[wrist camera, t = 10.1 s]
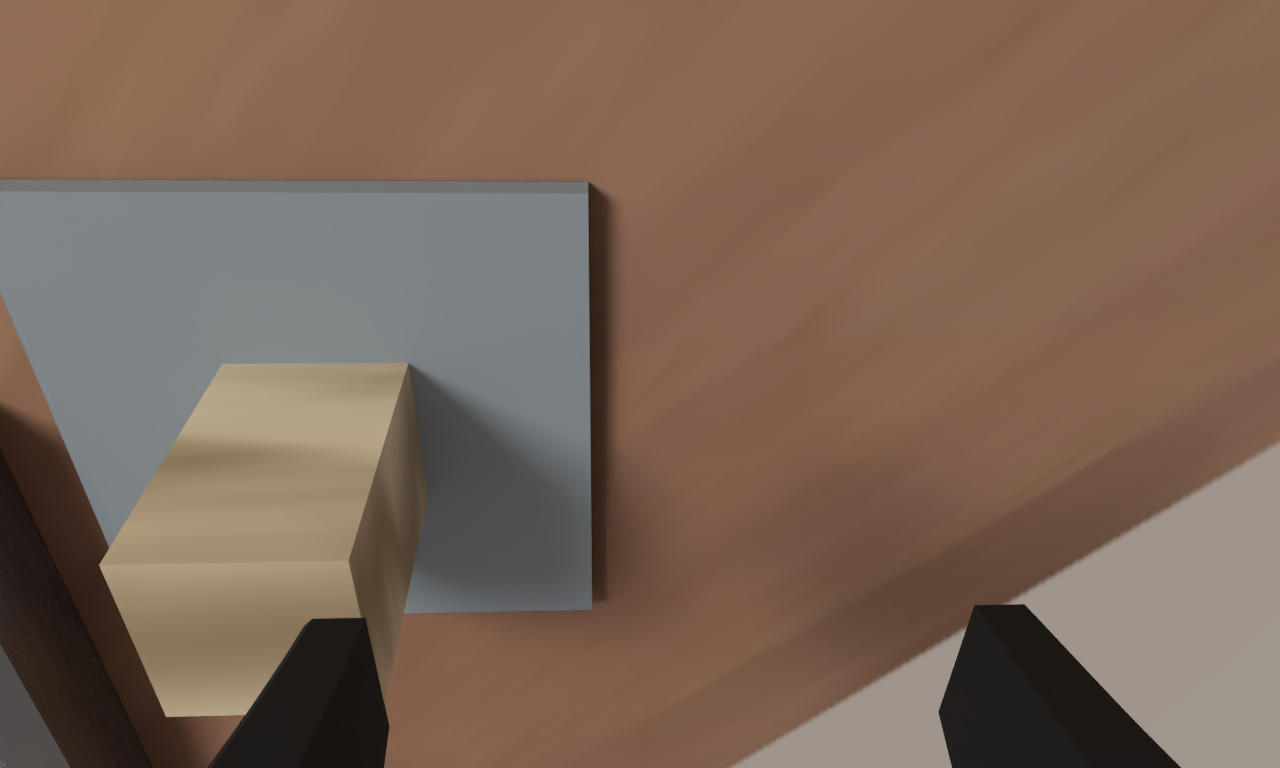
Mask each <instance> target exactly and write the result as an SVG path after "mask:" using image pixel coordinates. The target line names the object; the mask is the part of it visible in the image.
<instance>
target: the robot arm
mask: <svg viewBox="0 0 1280 768" xmlns="http://www.w3.org/2000/svg"><path fill="white" fill-rule="evenodd" d="M939 715H940V720H941V724H942V728H943V732H944V736H945V741H946V745H947V749H948V753H949V757H950V761H951V765H952V768H1181V767H1180V766H1179V765H1178V764H1177V763H1176V762H1175V761H1174V760H1173V759H1172V758H1171V757H1170V756H1168V754H1167V753H1166V752H1165V751H1164V750H1163V749H1162V748H1161V747H1160V746H1159V745H1158V744H1157V743H1156V742H1155V741H1154V740H1153V739H1152V738H1151V737H1150V736H1149V735H1148V734H1147V733H1146V732H1145V731H1144V730H1143V729H1142V728H1141V727H1140V726H1139V725H1138V724H1137V723H1136V722H1135V721H1134V720H1133V719H1132V718H1131V717H1130V716H1129V715H1128V714H1127V713H1126V712H1125V711H1124V709H1123V708H1121V706H1120V705H1119V704H1118V703H1117V702H1116V701H1115V700H1114V699H1113V698H1112V697H1111V696H1110V695H1109V694H1108V693H1107V692H1106V691H1105V690H1104V689H1103V687H1102V686H1101V685H1100V684H1099V683H1098V682H1097V681H1096V680H1095V679H1094V678H1093V677H1092V676H1091V675H1090V674H1089V673H1088V672H1087V670H1086V669H1085V668H1084V667H1083V666H1082V665H1081V664H1080V663H1079V662H1078V661H1077V660H1076V659H1075V658H1074V657H1073V655H1072V654H1071V653H1070V652H1069V651H1068V650H1067V649H1066V648H1065V647H1064V646H1063V645H1062V644H1061V643H1060V642H1059V641H1058V640H1057V638H1056V637H1054V635H1053V634H1052V633H1051V632H1050V631H1049V630H1048V629H1047V628H1046V627H1045V626H1044V625H1043V624H1042V622H1041V621H1040V620H1039V619H1038V618H1037V617H1036V616H1035V615H1034V614H1033V613H1032V612H1031V611H1030V610H1029V609H1028V608H1027V607H1026V606H1025V605H1024V604H1022V605H975V606H974V609H973V612H972V615H971V618H970V620H969V623H968V626H967V629H966V632H965V636H964V638H963V641H962V644H961V647H960V650H959V653H958V656H957V659H956V662H955V665H954V668H953V671H952V674H951V677H950V680H949V683H948V686H947V689H946V692H945V694H944V697H943V700H942V703H941V706H940V709H939ZM388 732H389V723H388V718H387V714H386V709H385V704H384V700H383V695H382V691H381V686H380V681H379V677H378V672H377V668H376V663H375V658H374V654H373V649H372V645H371V640H370V636H369V631H368V626H367V622H366V618H322V619H311V620H310V621H309V622H308V623H307V624H306V625H304V627H303V628H302V630H301V632H300V633H299V635H298V636H297V638H296V639H295V641H294V643H293V644H292V646H291V647H290V649H289V650H288V652H287V654H286V655H285V657H284V658H283V660H282V661H281V663H280V664H279V666H278V667H277V669H276V670H275V672H274V673H273V675H272V676H271V678H270V680H269V681H268V683H267V684H266V685H265V687H264V688H263V690H262V691H261V693H260V694H259V696H258V697H257V699H256V700H255V702H254V703H253V705H252V706H251V707H250V709H249V710H248V712H247V713H246V715H245V716H244V718H243V719H242V721H241V722H240V723H239V725H238V726H237V728H236V729H235V731H234V732H233V733H232V735H231V736H230V738H229V739H228V740H227V742H226V743H225V744H224V746H223V747H222V748H221V750H220V751H219V753H218V754H217V755H216V757H215V758H214V759H213V761H212V762H211V764H210V765H209V766H208V768H384V762H385V755H386V747H387V740H388Z"/></svg>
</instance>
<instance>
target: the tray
mask: <svg viewBox="0 0 1280 768" xmlns="http://www.w3.org/2000/svg"><path fill="white" fill-rule="evenodd" d="M0 768H152V767H151V765H150V763H149V761H148V759H147V757H146V755H145V753H144V751H143V749H142V747H141V744H140V742H139V740H138V738H137V736H136V734H135V732H134V730H133V728H132V726H131V724H130V722H129V719H128V717H127V715H126V713H125V711H124V709H123V707H122V705H121V703H120V701H119V699H118V697H117V695H116V692H115V690H114V688H113V686H112V684H111V682H110V680H109V678H108V676H107V674H106V672H105V670H104V667H103V665H102V663H101V661H100V659H99V657H98V655H97V653H96V651H95V649H94V647H93V645H92V643H91V640H90V638H89V636H88V634H87V632H86V630H85V628H84V626H83V624H82V622H81V620H80V618H79V615H78V613H77V611H76V609H75V607H74V605H73V603H72V601H71V599H70V597H69V595H68V593H67V591H66V588H65V586H64V584H63V582H62V580H61V578H60V576H59V574H58V572H57V570H56V568H55V566H54V563H53V561H52V559H51V557H50V555H49V553H48V551H47V549H46V547H45V545H44V543H43V541H42V539H41V536H40V534H39V532H38V530H37V528H36V526H35V524H34V522H33V520H32V518H31V516H30V514H29V511H28V509H27V507H26V505H25V503H24V501H23V499H22V497H21V495H20V493H19V491H18V489H17V487H16V484H15V482H14V480H13V478H12V476H11V474H10V472H9V470H8V468H7V466H6V464H5V462H4V459H3V457H2V455H1V453H0Z"/></svg>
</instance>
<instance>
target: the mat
mask: <svg viewBox="0 0 1280 768" xmlns="http://www.w3.org/2000/svg"><path fill="white" fill-rule="evenodd" d="M0 293H1V295H2V297H3V300H4V302H5V304H6V307H7V309H8V311H9V314H10V316H11V318H12V321H13V323H14V325H15V328H16V330H17V332H18V335H19V337H20V339H21V342H22V344H23V347H24V349H25V351H26V354H27V356H28V358H29V361H30V363H31V365H32V368H33V370H34V372H35V375H36V377H37V379H38V382H39V384H40V386H41V389H42V391H43V393H44V396H45V398H46V401H47V403H48V405H49V408H50V410H51V412H52V415H53V417H54V419H55V422H56V424H57V426H58V429H59V431H60V433H61V436H62V438H63V440H64V443H65V445H66V447H67V450H68V452H69V454H70V457H71V459H72V462H73V464H74V466H75V469H76V471H77V473H78V476H79V478H80V480H81V483H82V485H83V487H84V490H85V492H86V494H87V497H88V499H89V501H90V504H91V506H92V508H93V511H94V513H95V516H96V518H97V520H98V523H99V525H100V527H101V530H102V532H103V534H104V537H105V539H106V541H107V544H108V546H109V548H110V546H111V545H112V543H113V542H114V540H115V538H116V537H117V535H118V533H119V532H120V530H121V528H122V527H123V525H124V524H125V522H126V520H127V519H128V517H129V515H130V514H131V512H132V511H133V509H134V507H135V506H136V504H137V502H138V501H139V499H140V497H141V496H142V494H143V493H144V491H145V489H146V488H147V486H148V484H149V483H150V481H151V480H152V478H153V476H154V475H155V473H156V471H157V470H158V468H159V466H160V465H161V463H162V462H163V460H164V458H165V457H166V455H167V453H168V452H169V450H170V449H171V447H172V445H173V444H174V442H175V440H176V439H177V437H178V435H179V434H180V432H181V431H182V429H183V427H184V426H185V424H186V422H187V421H188V419H189V417H190V416H191V414H192V413H193V411H194V409H195V408H196V406H197V404H198V403H199V401H200V400H201V398H202V396H203V395H204V393H205V391H206V390H207V388H208V386H209V385H210V383H211V382H212V380H213V378H214V377H215V375H216V373H217V372H218V370H219V369H220V367H221V365H222V364H286V363H409V370H410V377H411V384H412V391H413V398H414V405H415V411H416V418H417V425H418V432H419V439H420V446H421V453H422V460H423V466H424V473H425V480H426V487H427V494H428V504H427V508H426V513H425V517H424V522H423V527H422V531H421V536H420V540H419V545H418V549H417V554H416V559H415V563H414V568H413V572H412V577H411V581H410V586H409V591H408V595H407V600H406V604H405V609H404V613H403V614H405V613H455V612H506V611H556V610H592V528H591V422H590V317H589V211H588V182H456V181H234V180H13V179H0Z"/></svg>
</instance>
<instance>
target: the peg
mask: <svg viewBox="0 0 1280 768" xmlns="http://www.w3.org/2000/svg"><path fill="white" fill-rule="evenodd" d="M427 504H428V494H427V487H426V480H425V473H424V466H423V460H422V453H421V446H420V439H419V432H418V425H417V418H416V411H415V405H414V398H413V391H412V384H411V377H410V370H409V363H286V364H222V365H221V367H220V369H219V370H218V372H217V373H216V375H215V377H214V378H213V380H212V382H211V383H210V385H209V386H208V388H207V390H206V391H205V393H204V395H203V396H202V398H201V400H200V401H199V403H198V404H197V406H196V408H195V409H194V411H193V413H192V414H191V416H190V417H189V419H188V421H187V422H186V424H185V426H184V427H183V429H182V431H181V432H180V434H179V435H178V437H177V439H176V440H175V442H174V444H173V445H172V447H171V449H170V450H169V452H168V453H167V455H166V457H165V458H164V460H163V462H162V463H161V465H160V466H159V468H158V470H157V471H156V473H155V475H154V476H153V478H152V480H151V481H150V483H149V484H148V486H147V488H146V489H145V491H144V493H143V494H142V496H141V497H140V499H139V501H138V502H137V504H136V506H135V507H134V509H133V511H132V512H131V514H130V515H129V517H128V519H127V520H126V522H125V524H124V525H123V527H122V528H121V530H120V532H119V533H118V535H117V537H116V538H115V540H114V542H113V543H112V545H111V546H110V548H109V550H108V551H107V553H106V555H105V556H104V558H103V560H102V561H101V563H100V564H99V566H100V569H101V571H102V573H103V575H104V578H105V580H106V582H107V584H108V587H109V589H110V591H111V593H112V596H113V598H114V600H115V603H116V605H117V607H118V609H119V612H120V614H121V616H122V618H123V621H124V623H125V625H126V627H127V630H128V632H129V634H130V636H131V639H132V641H133V643H134V645H135V648H136V650H137V652H138V654H139V657H140V659H141V661H142V664H143V666H144V668H145V670H146V673H147V675H148V677H149V679H150V682H151V684H152V686H153V688H154V691H155V693H156V695H157V697H158V700H159V702H160V704H161V706H162V709H163V711H164V713H165V715H166V717H185V716H223V715H246V713H247V712H248V710H249V709H250V707H251V706H252V705H253V703H254V702H255V700H256V699H257V697H258V696H259V694H260V693H261V691H262V690H263V688H264V687H265V685H266V684H267V683H268V681H269V680H270V678H271V676H272V675H273V673H274V672H275V670H276V669H277V667H278V666H279V664H280V663H281V661H282V660H283V658H284V657H285V655H286V654H287V652H288V650H289V649H290V647H291V646H292V644H293V643H294V641H295V639H296V638H297V636H298V635H299V633H300V632H301V630H302V628H303V627H304V625H306V624H307V623H308V622H309V621H310V620H311V619H322V618H366V622H367V626H368V631H369V636H370V640H371V645H372V649H373V654H374V658H375V663H376V668H377V672H378V677H379V681H380V686H381V691H382V695H383V700H385V696H386V691H387V686H388V682H389V677H390V673H391V668H392V664H393V659H394V654H395V650H396V645H397V641H398V636H399V632H400V627H401V623H402V618H403V613H404V609H405V604H406V600H407V595H408V591H409V586H410V581H411V577H412V572H413V568H414V563H415V559H416V554H417V549H418V545H419V540H420V536H421V531H422V527H423V522H424V517H425V513H426V508H427Z"/></svg>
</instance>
